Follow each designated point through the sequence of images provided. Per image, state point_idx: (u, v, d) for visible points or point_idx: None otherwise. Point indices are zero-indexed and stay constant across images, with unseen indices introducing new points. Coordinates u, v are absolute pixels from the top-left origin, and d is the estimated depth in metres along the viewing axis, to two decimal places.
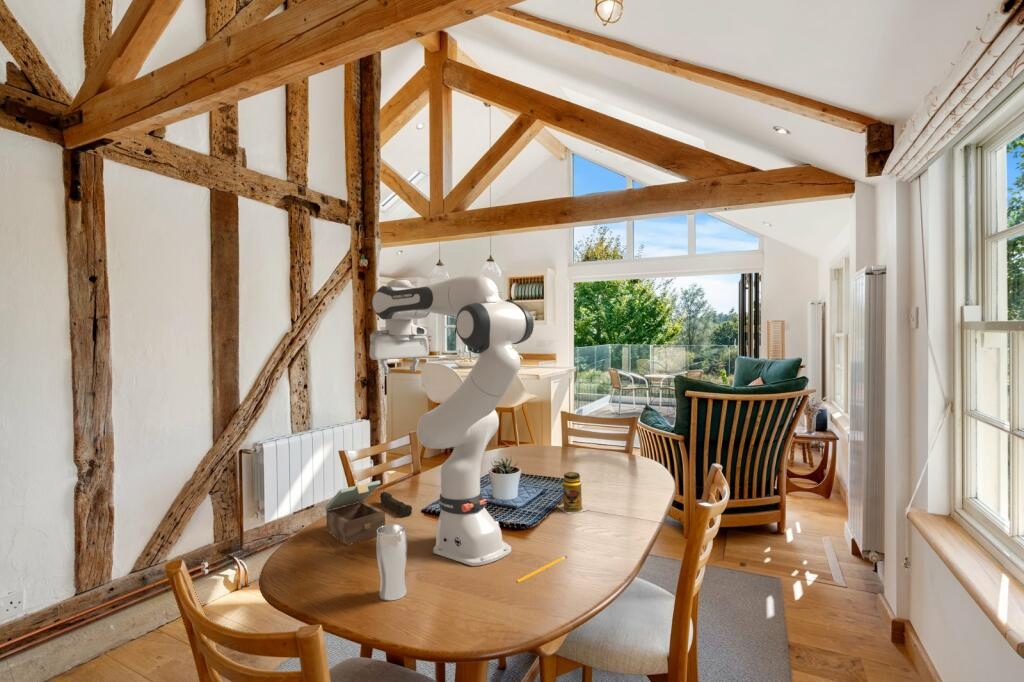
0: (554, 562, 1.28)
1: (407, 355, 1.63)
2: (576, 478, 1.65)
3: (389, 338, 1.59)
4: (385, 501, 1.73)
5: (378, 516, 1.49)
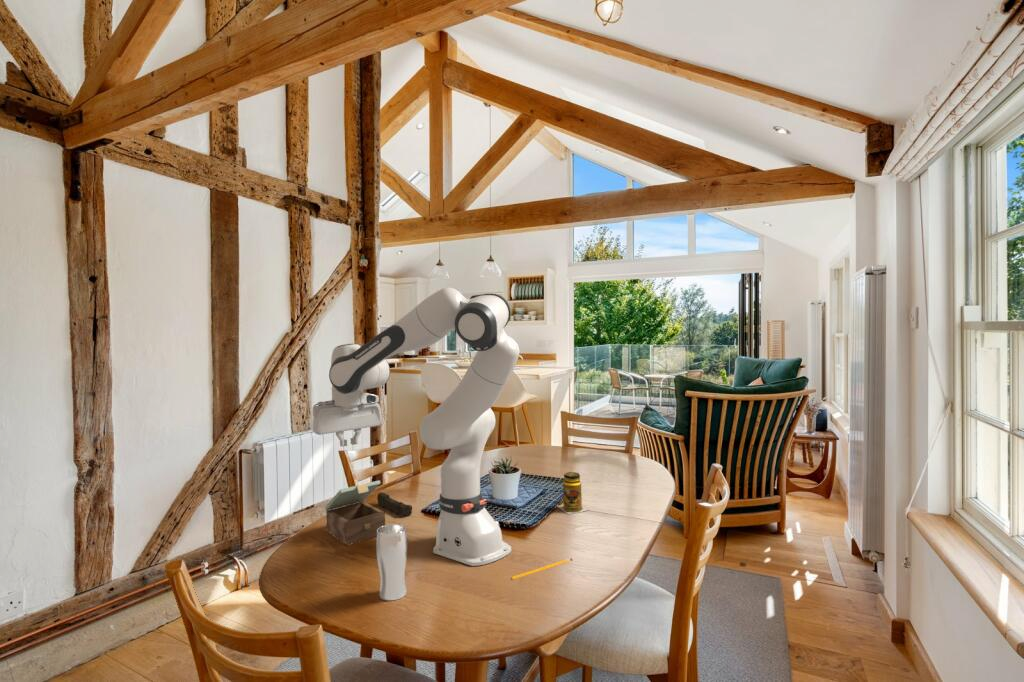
0: (556, 563, 1.28)
1: (356, 426, 1.49)
2: (576, 478, 1.65)
3: (335, 410, 1.44)
4: (383, 502, 1.72)
5: (378, 516, 1.49)
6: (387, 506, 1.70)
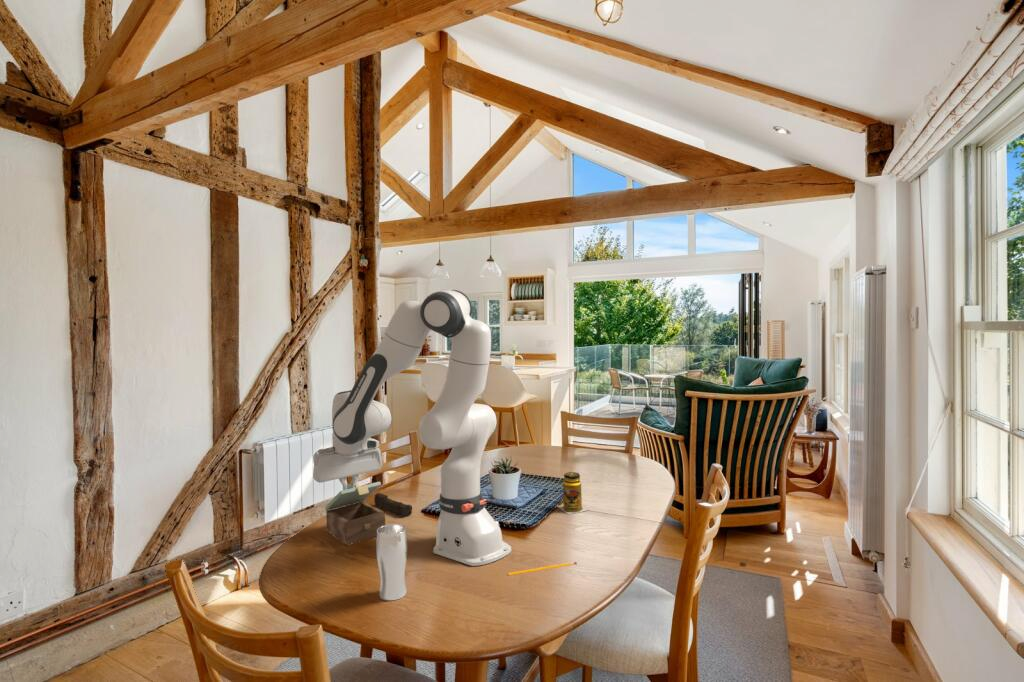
0: (558, 565, 1.27)
1: (356, 472, 1.49)
2: (576, 478, 1.65)
3: (335, 457, 1.44)
4: (381, 502, 1.72)
5: (378, 516, 1.49)
6: (386, 506, 1.70)
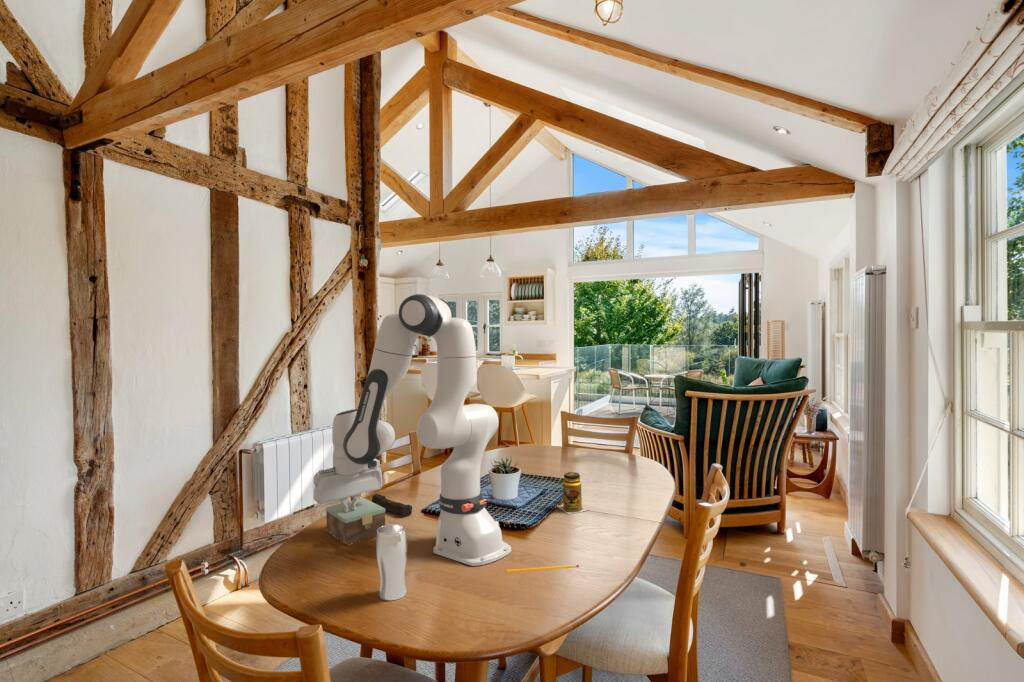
0: (559, 567, 1.26)
1: (357, 492, 1.49)
2: (576, 478, 1.65)
3: (336, 477, 1.44)
4: (380, 503, 1.71)
5: (378, 516, 1.49)
6: (384, 507, 1.69)
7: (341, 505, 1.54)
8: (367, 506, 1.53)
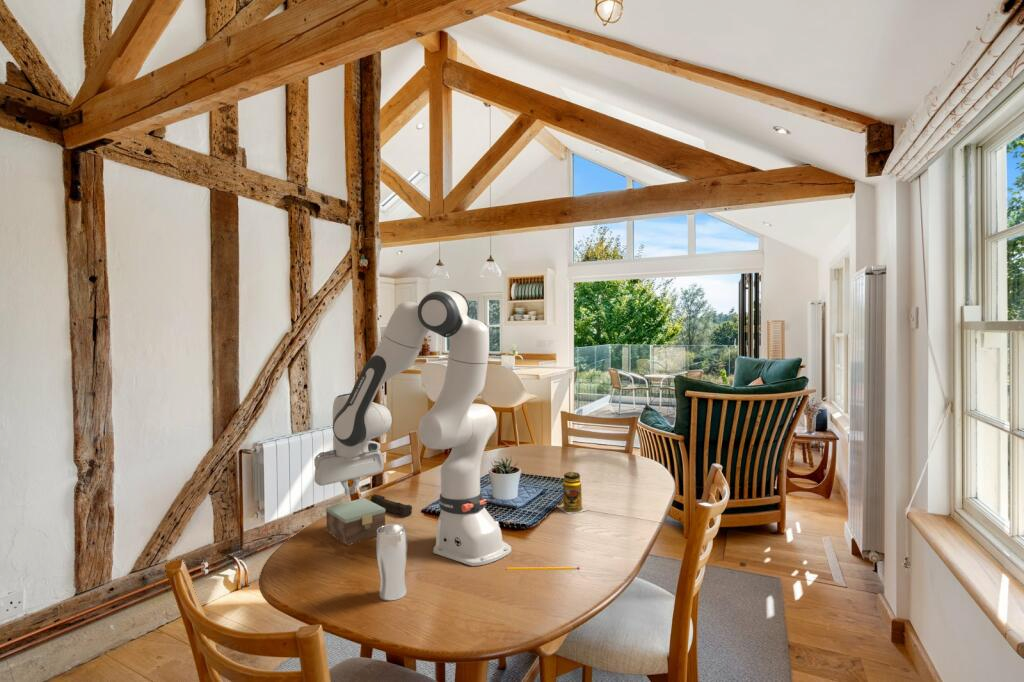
0: (559, 568, 1.25)
1: (358, 475, 1.49)
2: (576, 478, 1.65)
3: (336, 460, 1.44)
4: (379, 503, 1.71)
5: (378, 516, 1.49)
6: (384, 507, 1.69)
7: (341, 505, 1.54)
8: (367, 506, 1.53)
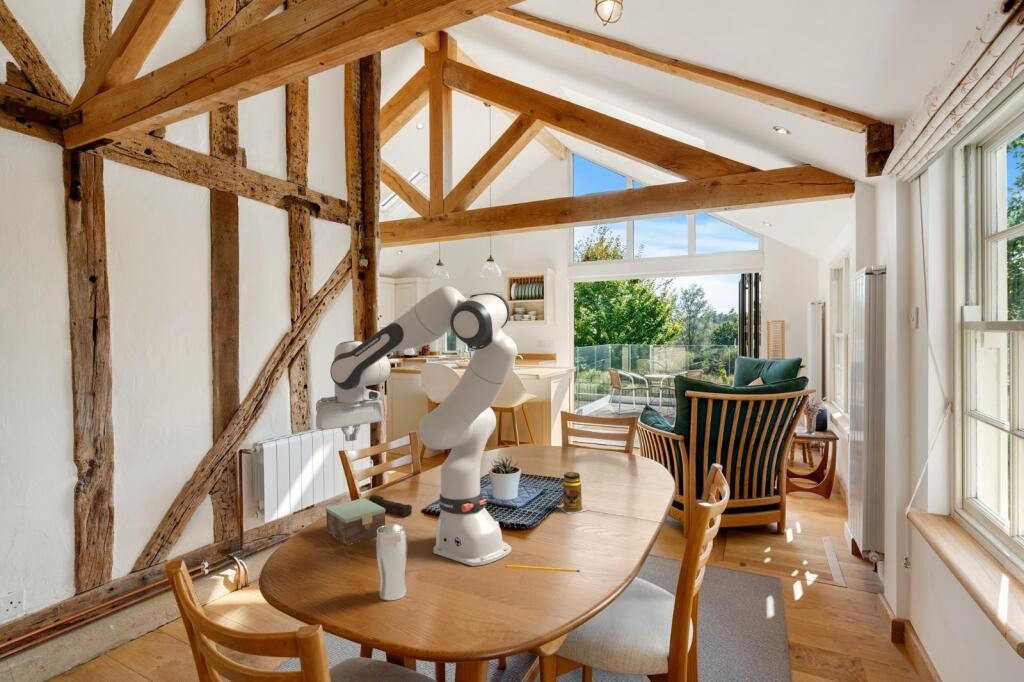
0: (559, 569, 1.25)
1: (358, 422, 1.51)
2: (576, 478, 1.65)
3: (337, 406, 1.47)
4: (378, 504, 1.70)
5: (378, 516, 1.49)
6: None
7: (341, 505, 1.54)
8: (367, 506, 1.53)
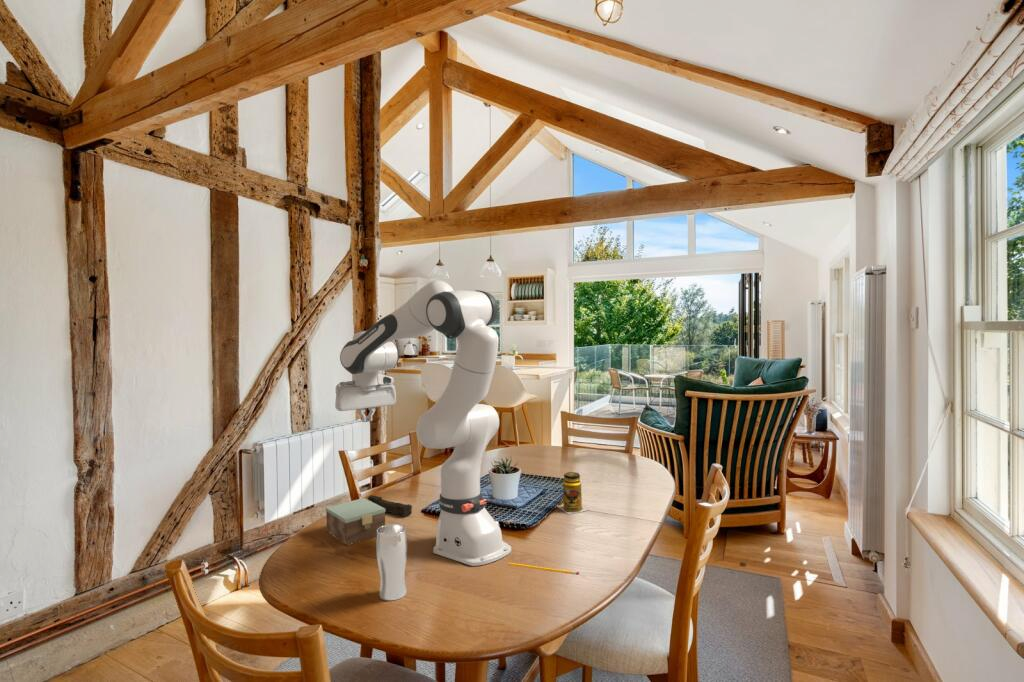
0: (558, 570, 1.24)
1: (373, 404, 1.65)
2: (576, 478, 1.65)
3: (355, 389, 1.61)
4: (377, 504, 1.70)
5: (378, 516, 1.49)
6: None
7: (341, 505, 1.54)
8: (367, 506, 1.53)
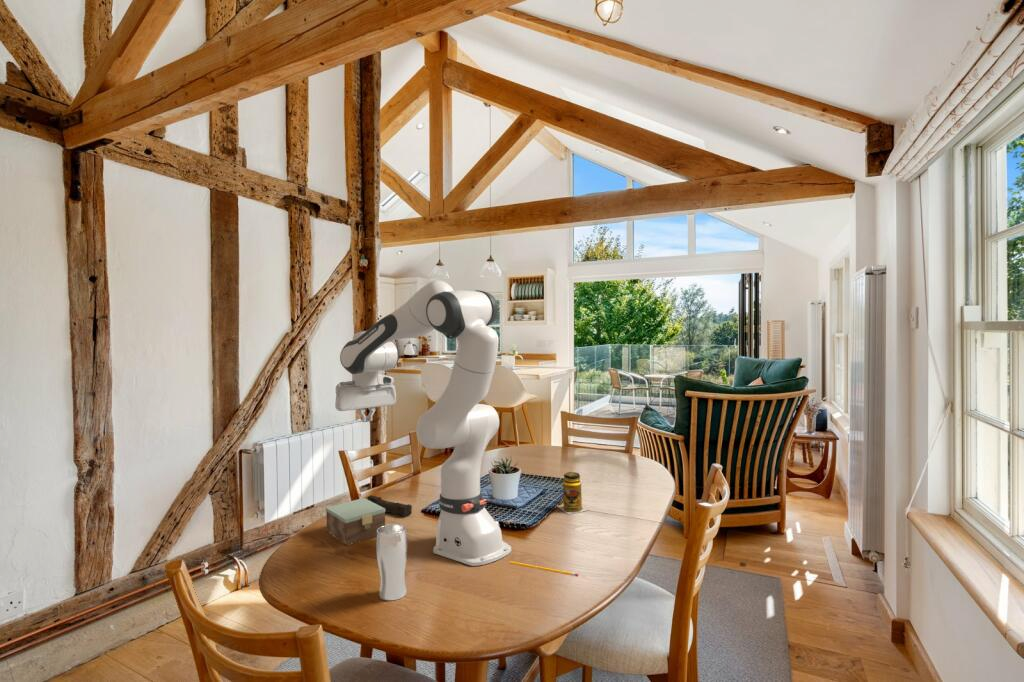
0: (558, 571, 1.24)
1: (373, 405, 1.65)
2: (576, 478, 1.65)
3: (355, 389, 1.61)
4: None
5: (378, 516, 1.49)
6: None
7: (341, 505, 1.54)
8: (367, 506, 1.53)
